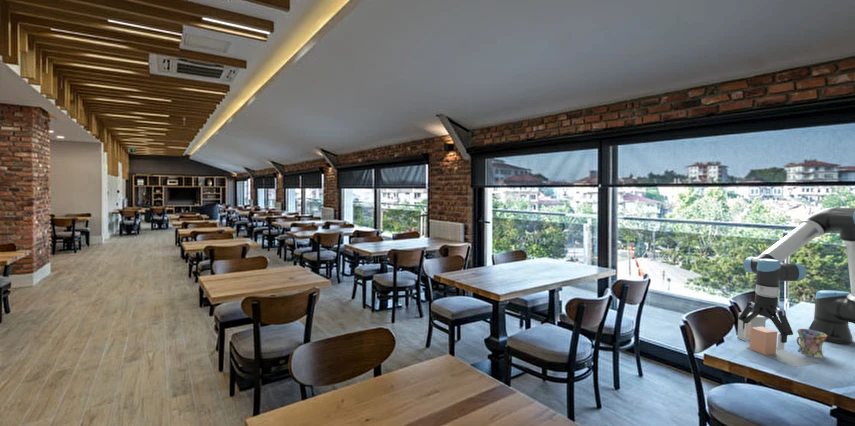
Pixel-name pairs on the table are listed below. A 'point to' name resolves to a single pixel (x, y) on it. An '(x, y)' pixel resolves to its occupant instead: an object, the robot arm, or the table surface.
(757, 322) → the supplement box
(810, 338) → the mug
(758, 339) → the peach tan brick
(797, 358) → the board
